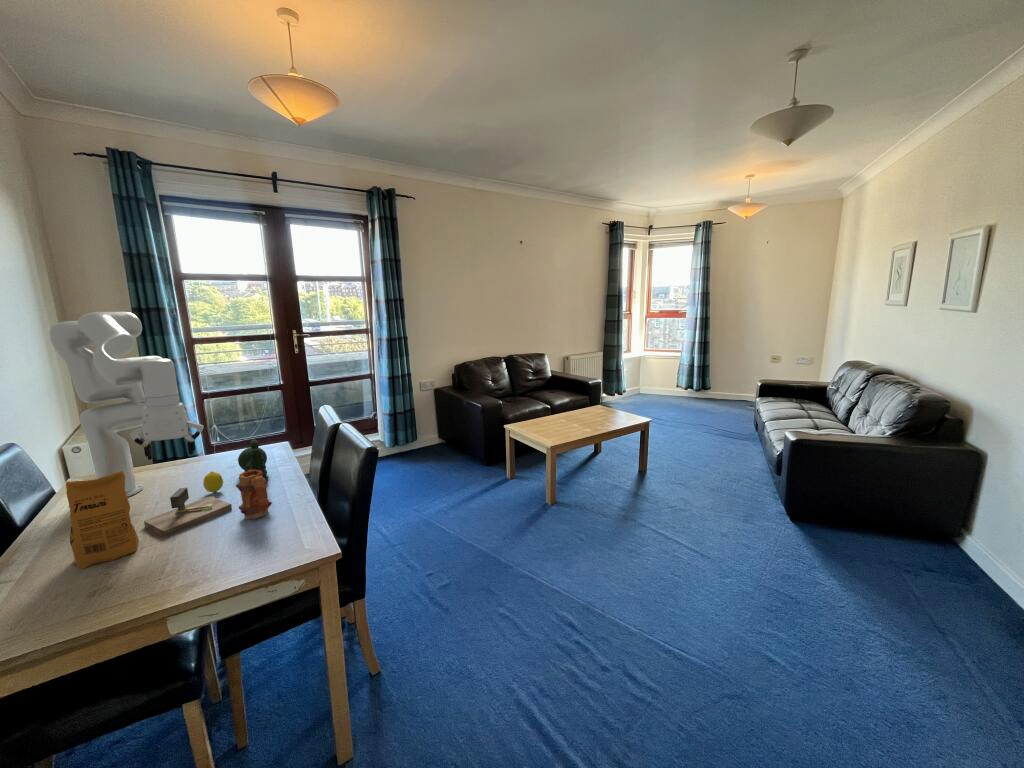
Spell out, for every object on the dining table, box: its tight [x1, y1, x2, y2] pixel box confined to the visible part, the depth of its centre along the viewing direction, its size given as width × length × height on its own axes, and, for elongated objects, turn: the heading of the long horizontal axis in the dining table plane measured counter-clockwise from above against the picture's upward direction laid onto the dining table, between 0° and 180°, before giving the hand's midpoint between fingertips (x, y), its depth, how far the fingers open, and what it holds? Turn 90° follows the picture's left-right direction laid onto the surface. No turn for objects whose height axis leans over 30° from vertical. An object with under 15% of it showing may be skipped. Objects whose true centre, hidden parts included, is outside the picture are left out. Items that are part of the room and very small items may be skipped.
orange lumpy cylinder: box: [235, 470, 273, 520], centre depth 125 cm, size 15×8×15 cm, turn 47°
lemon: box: [202, 471, 224, 494], centre depth 142 cm, size 6×6×8 cm
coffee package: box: [65, 471, 140, 569], centre depth 106 cm, size 10×12×22 cm
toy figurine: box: [237, 438, 269, 483], centre depth 153 cm, size 9×19×25 cm
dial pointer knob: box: [169, 487, 213, 513], centre depth 126 cm, size 9×6×6 cm
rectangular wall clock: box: [143, 495, 233, 538], centre depth 126 cm, size 12×18×2 cm, turn 152°
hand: (171, 455), depth 123 cm, fingers open, 9 cm apart
